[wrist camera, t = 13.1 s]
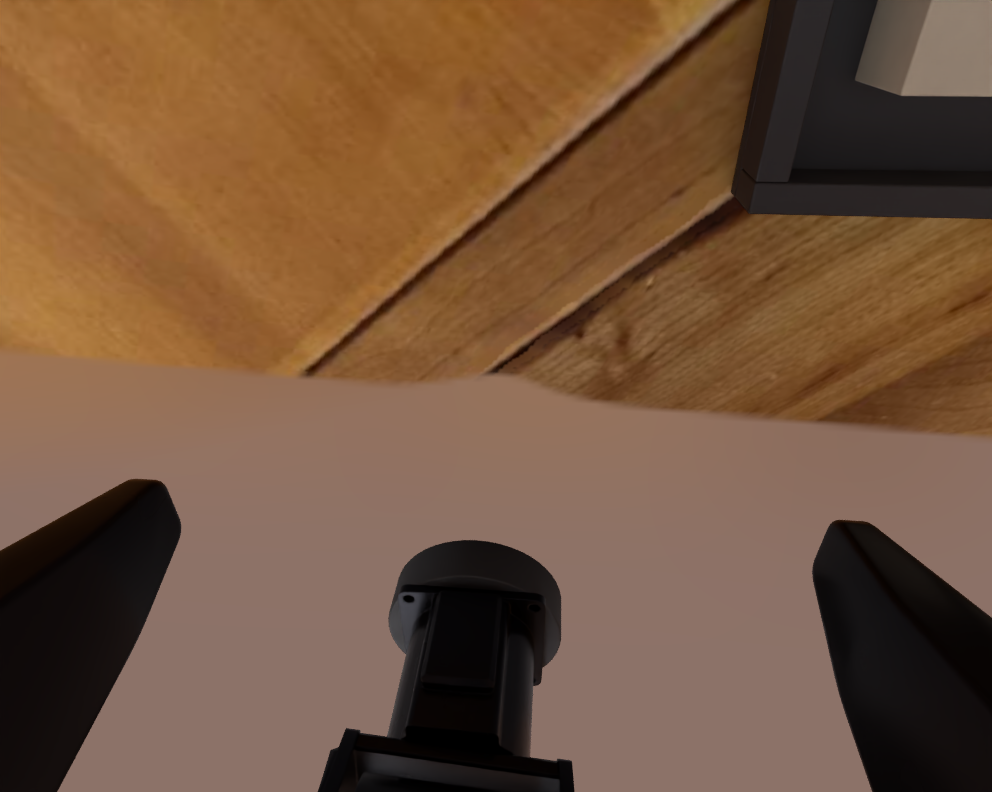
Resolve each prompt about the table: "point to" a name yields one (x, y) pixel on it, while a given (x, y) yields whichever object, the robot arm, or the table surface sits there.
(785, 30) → the tray
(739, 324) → the table surface
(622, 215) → the table surface
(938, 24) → the loose pad
